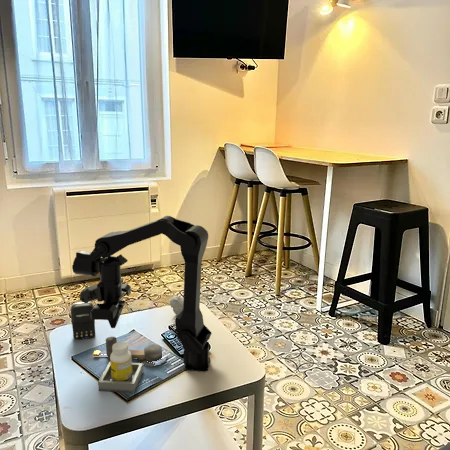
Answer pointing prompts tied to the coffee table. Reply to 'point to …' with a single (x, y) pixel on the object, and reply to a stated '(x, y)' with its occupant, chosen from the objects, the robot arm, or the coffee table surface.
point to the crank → (148, 353)
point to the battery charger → (82, 320)
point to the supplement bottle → (121, 362)
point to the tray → (115, 386)
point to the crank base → (137, 358)
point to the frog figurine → (176, 304)
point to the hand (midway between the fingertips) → (113, 327)
